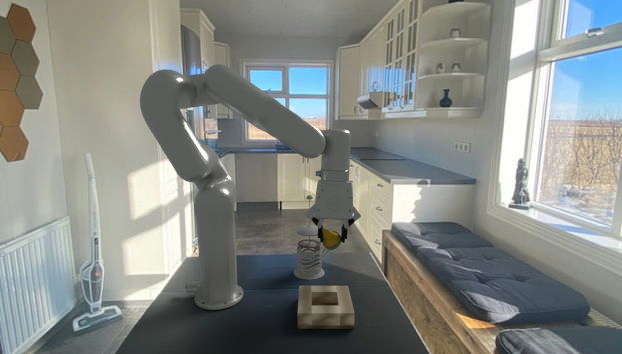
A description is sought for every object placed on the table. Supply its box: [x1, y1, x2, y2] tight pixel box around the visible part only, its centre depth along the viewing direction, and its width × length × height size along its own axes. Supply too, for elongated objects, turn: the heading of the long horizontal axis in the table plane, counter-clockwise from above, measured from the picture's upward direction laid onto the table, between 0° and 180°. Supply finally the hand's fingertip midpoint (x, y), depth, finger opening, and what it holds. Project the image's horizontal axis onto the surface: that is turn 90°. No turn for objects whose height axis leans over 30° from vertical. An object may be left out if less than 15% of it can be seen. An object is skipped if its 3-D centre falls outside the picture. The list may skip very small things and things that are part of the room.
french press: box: [293, 194, 329, 280], centre depth 103 cm, size 10×12×25 cm
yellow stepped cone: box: [321, 227, 342, 251], centre depth 91 cm, size 5×5×10 cm
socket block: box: [297, 285, 356, 330], centre depth 82 cm, size 13×13×4 cm
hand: (332, 240), depth 91 cm, fingers closed on yellow stepped cone, 5 cm apart
